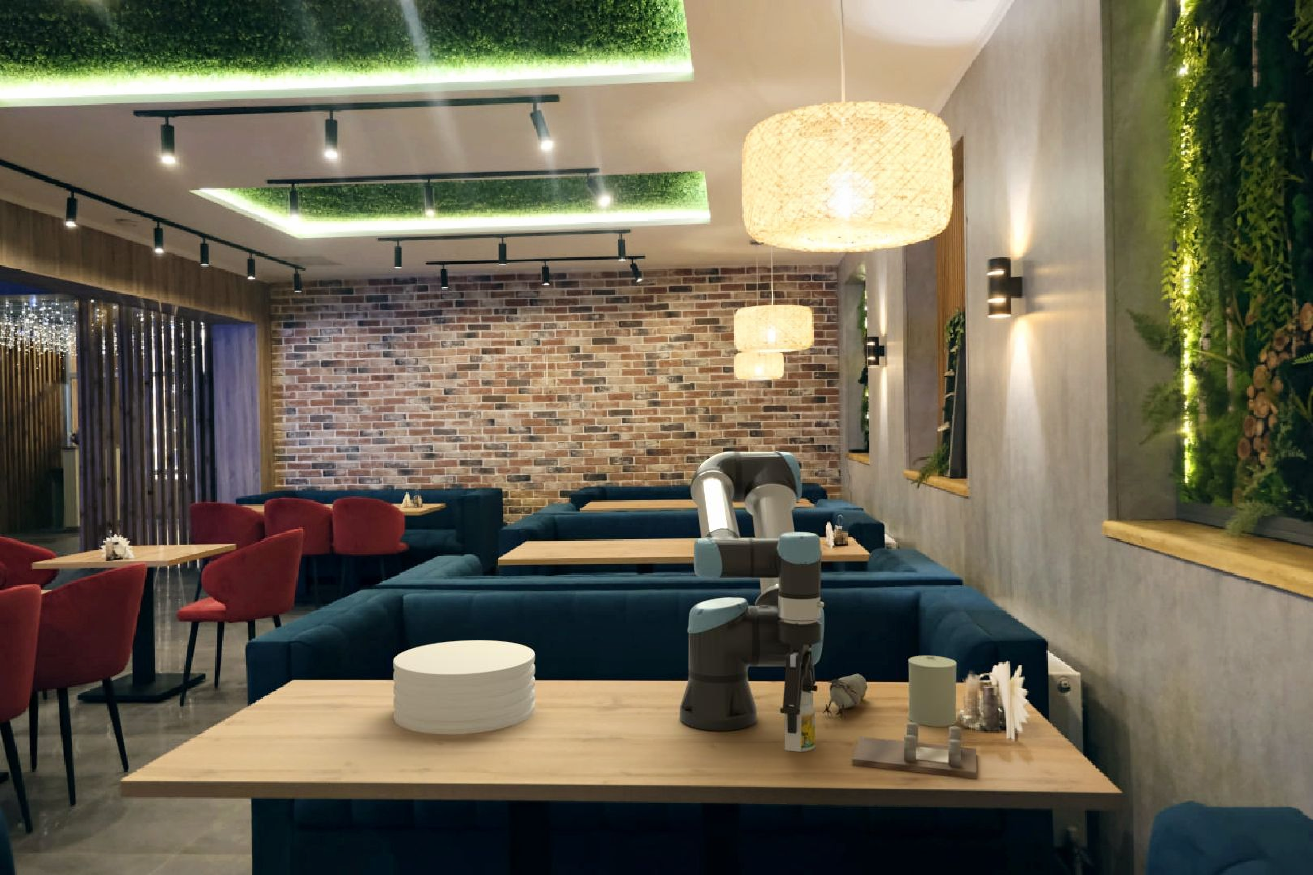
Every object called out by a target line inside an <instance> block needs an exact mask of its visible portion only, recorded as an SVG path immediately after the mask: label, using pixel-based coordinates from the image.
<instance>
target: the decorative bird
mask: <svg viewBox="0 0 1313 875" xmlns="http://www.w3.org/2000/svg"><path fill="white" fill-rule="evenodd" d="M827 683H828V684H829V685H830V686H829V696H830V699H829V702H828V703H829V704H827V703H825V709H824V710H823V712H822V714H825V713H827V716H829V714H830V715H831V716H833V713H832V712H831V711H830V708H831V705H832V703H834V704H835V706H837V707H838V712H837V713H836V715H835V716H838V715H840V718H842V717H844V718H846V716H845V713H843V710H844V709H847V708H851V707H853V706H858V705H859V703H860V702H861V701H862V700H863V699H864V698H865V697H866V693H867V690H868V685H867V681H866V679H865V677H863V675H861V674H859V673H856V674H852V675H848V676H843V677H840V678H838V679H836V678H835V679H832V680H831V681H828V682H827Z"/></svg>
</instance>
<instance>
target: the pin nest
mask: <svg viewBox="0 0 1313 875" xmlns="http://www.w3.org/2000/svg"><path fill="white" fill-rule="evenodd" d="M948 727H949V728H948V733H949V734H948V742H947V743H948V745H947V744H946V745H945V744H944V745H943V744H934V743H924V742H919V724H918V723H914V722H912V721H910V722H907V723H906V735H904V736H903V740H894V739H885V738H876V737H875V738H874V737H864V736H859V738H858V741H857V744H856V746H855V750H854V752H853V756H852V758H851V765H852V766H860V767H868V768H877V769H886V770H887V769H888V770H895V771H896V770H897V771H905V772H912V773H913V772H914V773H922V774H932V775H940V776H942V775H943V776H950V777H959V778H968V779H969V778H970V779H976V780H977V749H976V748H975V747H966V746H965V747H963V746H962V727H960V726H957V725H956V726H955V725H951V726H948Z"/></svg>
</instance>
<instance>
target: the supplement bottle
mask: <svg viewBox="0 0 1313 875" xmlns="http://www.w3.org/2000/svg"><path fill="white" fill-rule="evenodd" d="M810 701H811V695H810V694H809V693H807V692H802V695H801V704H800V713H801V753H802V752H803V753H804V752H810V751H812V750H814V748H815V747H816V729H815V728H816V726H815V725H816V724H815V721H816V717H815V708H814V705H813V706H812V705H810V704H809V703H810ZM789 706H794V705H789Z"/></svg>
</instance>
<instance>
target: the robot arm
mask: <svg viewBox="0 0 1313 875" xmlns="http://www.w3.org/2000/svg"><path fill="white" fill-rule="evenodd" d="M801 472H802V471H801V468H800V465H799V462H798V460H797V458H796V457H795V455H794V454H793V453H792V452H788V451H787V452H785V451H778V450H773V451H724V452H720V453H717V454H714V455H713V456H710V457H709V458H708V459H706V460H705V461H703V462H702V463H701V465H699V466H698V467H697V469H696V470H695V472H694V473H693V475H692V478H691V481H690V496H691V499H692V501H693V503H695V505H696V506H697V514H698V521H699V528H700V535H701V536H700V537H701V538H698V539H696V540H695V542H694V543H693V567H694V568H693V569H694V574H695V575H696V576H697V577H698V578H705V579H706V578H707V579H708V578H709V579H712V580H713V579H714V580H717V579H745V578H746V579H752V578H753V579H759V581H760V582H759V583H760V592H761V594H760V595H759V596H758V597H757V599H756V601H755V603H754V604H755V605H750V603H748V600H747V599H746V598H744V597H720V598H713V599H708V600H705V601H704V600H703V601H701V602H699V603H697V604H694V606H693V607H692V608H691V609H690V611H689V614H688V615H689V616H688V627H687V633H688V679H687V684H686V686H685V690H684V693H683V697H682V700H681V702H680V705H679V720H680V721H681V722H682V723H683V724H684V725H686V726H688V727H691V728H694V729H699V730H706V731H719V732H720V731H722V732H723V731H734V730H735V731H736V730H741V729H745V728H748V727H749V728H750V727H751V726H753V725H754V724H755V723H756V722H757V720H758V719H757V718H758V716H757V715H758V713H757V712H758V709H757V705H756V702H755V698H754V696H753V694H752V689H751V687H750V683H749V674H748V673H749V672H748V670H749V667H785V675H784V687H783V688H784V690H783V698H782V701H783V702H782V707H780V709H779V712H780V714H784V750H785V751H792V752H798V753H799V752H801V713H800V704H801V695H802V692H807V693H809V694H810V695H811V701H810V703H809V704H810V705H812V706H813V707H814V692H818V685H816V678H815V667H814V666H815V665H816V664H817V663H818V662H819V661H820V659H821V655H822V650H823V645H824V644H823V643H824V634H825V613H824V609H823V608H824V606H825V603H824V602H823V601H821V596H822V594H821V593H822V592H821V587H822V586H821V584H822V582H821V576H822V574H821V572H822V567H821V565H822V556H823V554H822V550H821V548H822V547H821V538H820V536H819V535H818V534H817V533H811V532H807V531H806V532H805V531H804V532H803V531H801V532H800V531H795V527H794V521H793V520H794V519H793V513H792V511H793V510H794V509H795V506H796V505H797V503H798V502H799V501H800V500H801V499H802V492H803V483H802V482H803V481H802V478H801V477H802V474H801ZM734 503H737V504H738V503H740V504H742V503H744V507H745V509H746V512H747V513H748V514H750V515H751V516H752V520H753V521H752V522H753V529H754V536H755V537H754V538H753V537H741V535H740V531H739V526H738V521H737V518H736V517H737V516H736V513H735V508H734ZM789 705H794V706H789ZM801 753H802V752H801Z"/></svg>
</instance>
